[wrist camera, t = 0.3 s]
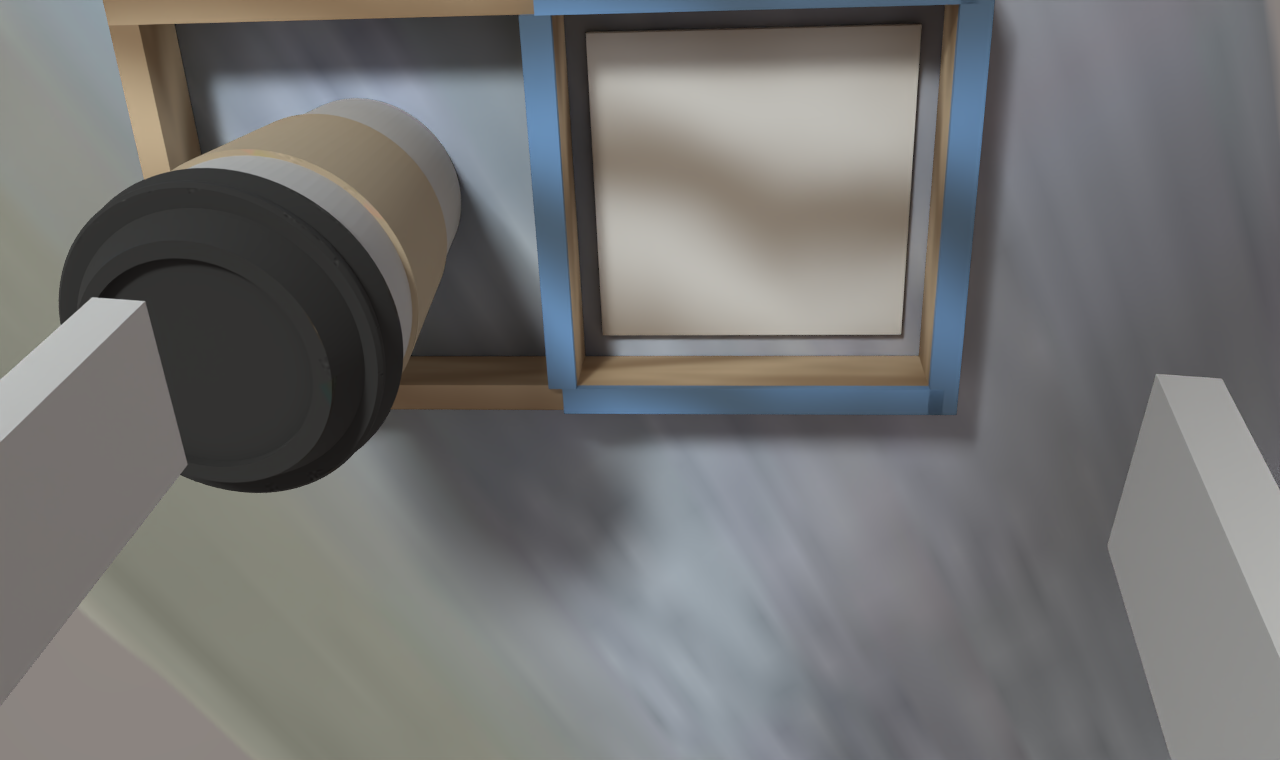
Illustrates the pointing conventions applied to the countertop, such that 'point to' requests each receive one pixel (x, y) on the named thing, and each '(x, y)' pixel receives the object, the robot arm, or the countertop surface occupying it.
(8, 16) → the countertop surface
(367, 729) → the countertop surface
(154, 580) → the countertop surface
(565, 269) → the oak rack
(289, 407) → the coffee cup
